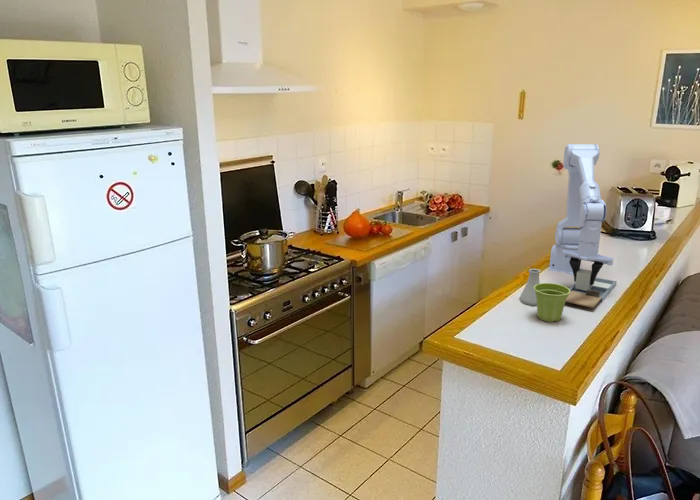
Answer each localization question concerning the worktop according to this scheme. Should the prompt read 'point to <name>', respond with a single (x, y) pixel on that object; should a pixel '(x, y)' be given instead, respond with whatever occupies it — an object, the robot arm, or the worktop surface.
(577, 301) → the door
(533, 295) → the flask
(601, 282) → the tray
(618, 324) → the worktop surface
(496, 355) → the worktop surface
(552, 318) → the plant pot
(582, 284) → the block
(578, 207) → the robot arm
